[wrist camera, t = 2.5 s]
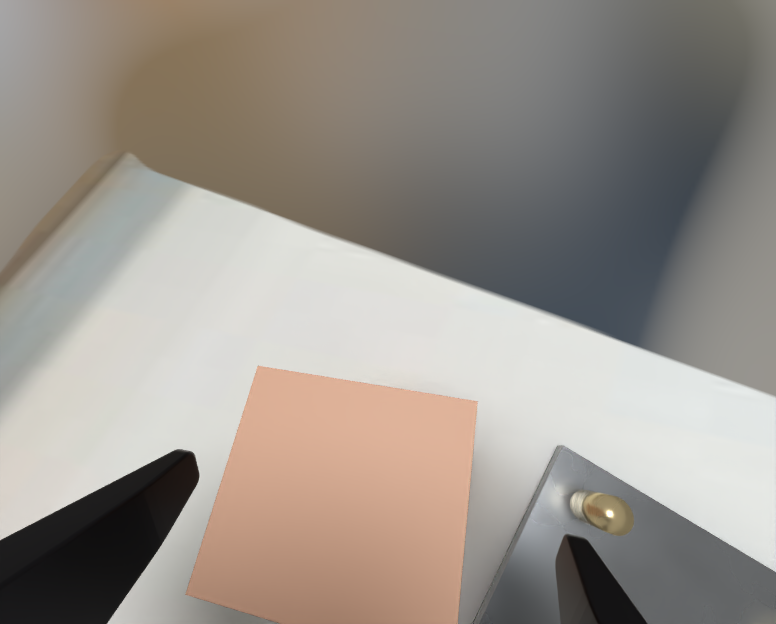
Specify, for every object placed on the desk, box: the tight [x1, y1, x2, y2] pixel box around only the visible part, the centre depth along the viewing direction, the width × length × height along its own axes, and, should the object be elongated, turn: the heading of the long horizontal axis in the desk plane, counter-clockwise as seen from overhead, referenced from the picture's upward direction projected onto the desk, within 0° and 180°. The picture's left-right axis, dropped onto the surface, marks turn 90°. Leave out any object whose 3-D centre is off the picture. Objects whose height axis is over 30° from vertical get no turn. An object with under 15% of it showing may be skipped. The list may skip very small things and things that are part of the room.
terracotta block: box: [185, 366, 478, 624], centre depth 11 cm, size 4×4×11 cm
